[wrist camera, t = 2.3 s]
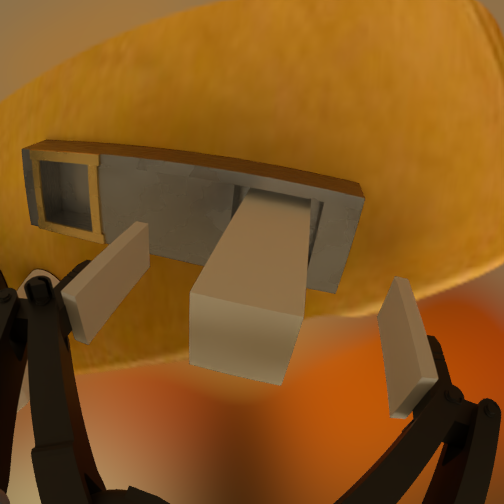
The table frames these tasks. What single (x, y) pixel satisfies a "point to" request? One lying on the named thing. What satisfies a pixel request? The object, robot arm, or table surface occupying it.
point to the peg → (253, 290)
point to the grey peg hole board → (179, 199)
